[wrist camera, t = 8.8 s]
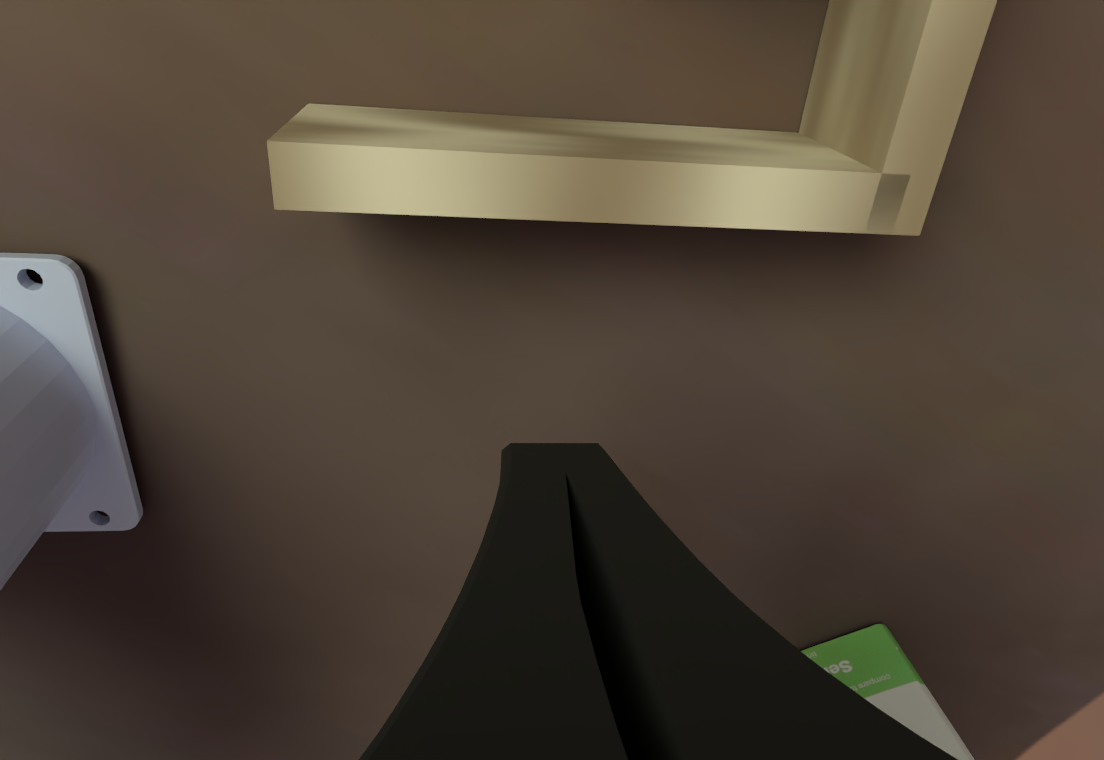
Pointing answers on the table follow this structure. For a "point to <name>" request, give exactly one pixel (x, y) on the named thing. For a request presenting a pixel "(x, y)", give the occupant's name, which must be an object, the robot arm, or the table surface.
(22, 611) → the table surface
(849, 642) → the ink box
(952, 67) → the beige piece
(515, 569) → the robot arm
